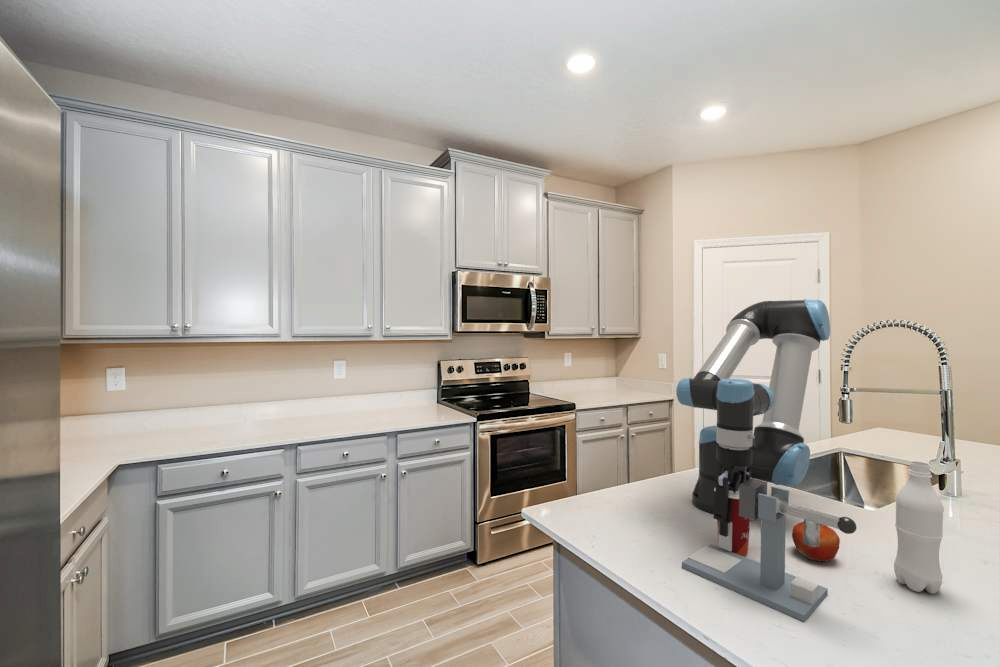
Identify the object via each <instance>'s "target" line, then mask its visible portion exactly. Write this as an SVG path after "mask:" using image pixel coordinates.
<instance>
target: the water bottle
mask: <svg viewBox="0 0 1000 667" xmlns="http://www.w3.org/2000/svg"><path fill="white" fill-rule="evenodd" d="M907 474H908V478H907V480H906V482H905V483H904V485H902V487H901V488H900V490H899V491H898V492H897V494H896V497H895V523H894V525H895V530H896V535H897V549H896V556H895V560H894V562H893V570H894V573H895V574H894V575H895V577H896V579H897V581H898V583H900V584H902V585H906V586H907V587H908V589H910V590H912V591H913V592H917V593H921V592H922V591H924V589H925V591H927V593H929V594H932V595H933V594H936V593H937V592H938V591H939V590H940V589H941V587H942V585H943V584H942V583H943V573H942V569H941V565H940V548H941V547H940V546H941V542H942V540H943V537H944V535H943V531H944V530H943V529H944V526H943V525H944V521H943V520H944V511H945V508H944V504H943V502H942V500H941V498H940V496H939V494H938V493H937V491H936V490H935V488H934V486H933V484H932V481H931V480H932V479H931V478H933V476H932V472H931V464H929V463H926V462H923V461H917V460H915V461H911V460H910V462H909V469H908V471H907Z"/></svg>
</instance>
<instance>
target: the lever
mask: <svg viewBox="0 0 1000 667" xmlns="http://www.w3.org/2000/svg"><path fill="white" fill-rule="evenodd" d="M759 493H760V494H764V495H768V482H766V481H762V480H758V479H753V478H751V479H750V480H748V481H746V482H744V483H742V484H740V485H739V516H741V517H744V518H748V519H750V521H757V520H759V519H760V518H759V517H758V494H759ZM770 496H771V495H770ZM771 497H775V498H777V501H776V514H777V513H778V512H779V513H782V514H786V515H790V516H792V517H794V518H795V517H797V518H799V519H803V522H804V544H806V545H808V546H811V547H819V528H820V524H823V525H826V526H828V527H829V528H832V529H833V528H834V529H837V530H839V531H840V532H842V533H844V534H846V535H851V534H855V532H856V531H857V524H856V522H855V521H854V519H852V518H851V517H848V516H835V515H832V514H829V513H825V512H822V511H819V510H814V509H810V508H807V507H804V506H799V505H797V504H792V503H790V502H789V503H787V502H786V499H785V498H784V497H783V496H782V495H780V494H773V495H772V496H771Z"/></svg>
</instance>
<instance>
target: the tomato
mask: <svg viewBox="0 0 1000 667" xmlns="http://www.w3.org/2000/svg"><path fill="white" fill-rule="evenodd" d="M791 538H792V541H793V544H794V546H795V548H796V549H797V551H798V552H799V553H800V554H801V555H802V556H804V557H807V558H808V559H809V560H812V561H819V562H827V561H831V560H833V559H834V558H835V557H836V555H837V554H838V553H839V552H838V551H839V549H840V542H841V539H840V536H839V535H838V534H837V532H836V531H835V530H834V529H833V528H832V527H830V526H826V525H823V524H820V528H819V547H811V546H808V545H806V544H804V521H801V522H798V523H796V524H794V525H793V527H792V532H791Z"/></svg>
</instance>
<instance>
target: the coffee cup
mask: <svg viewBox="0 0 1000 667" xmlns="http://www.w3.org/2000/svg"><path fill="white" fill-rule="evenodd" d="M729 488H733V487H729ZM715 489H716V487H715ZM715 489H714V491H715ZM733 493H734V494H733ZM728 498H732V513H731V519H730V521H731V522H732V551H731V552H733V553H736V554H738V555H741V556H744V557H746V556H747V555H748V552H749V541H750V529H751V519H748V518H744V517H741V516H739V486H738V491H735V492H733V491H730V490H729V495H728ZM716 523H717V526H716V527H717V528H716V529H717V538H718V537H719V520H716Z"/></svg>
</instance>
